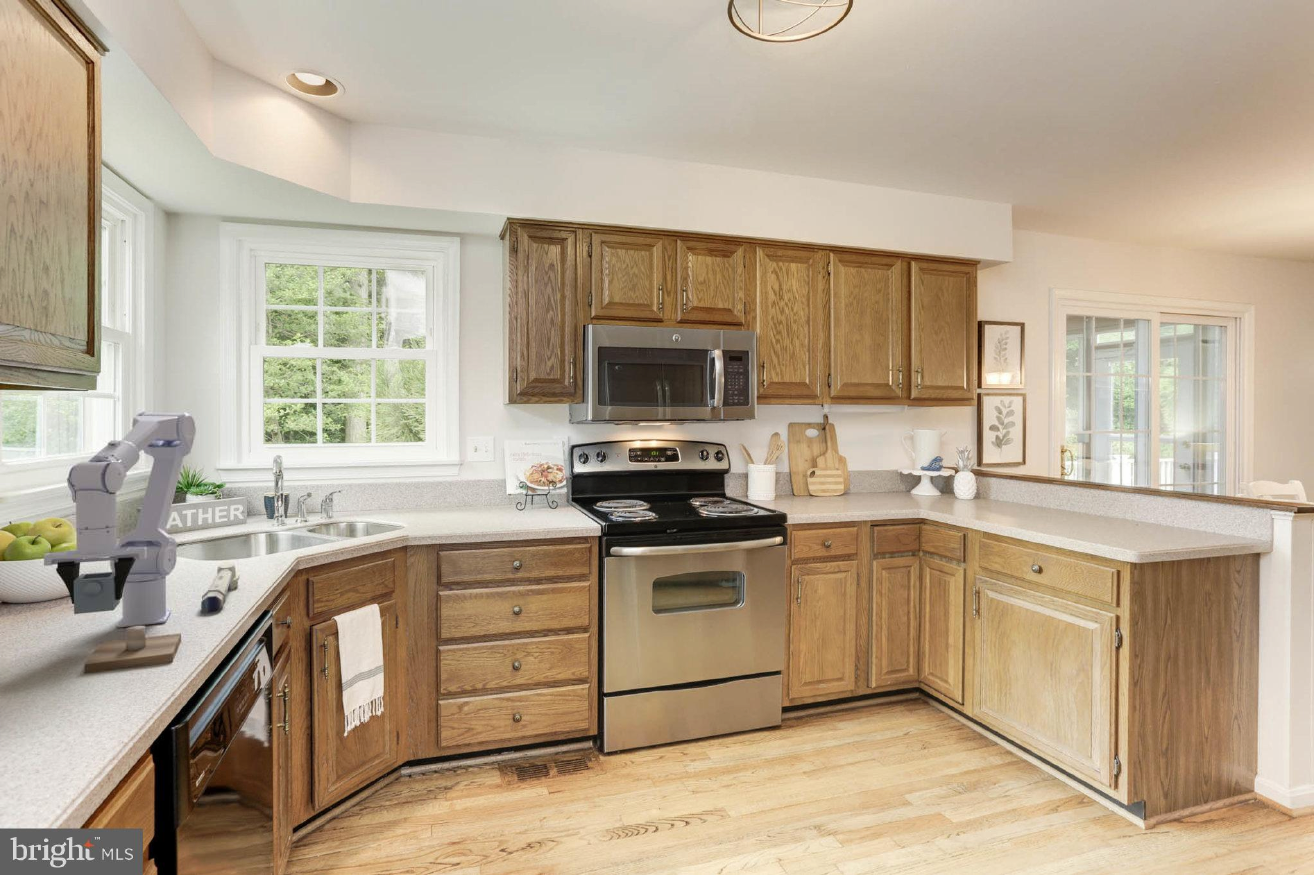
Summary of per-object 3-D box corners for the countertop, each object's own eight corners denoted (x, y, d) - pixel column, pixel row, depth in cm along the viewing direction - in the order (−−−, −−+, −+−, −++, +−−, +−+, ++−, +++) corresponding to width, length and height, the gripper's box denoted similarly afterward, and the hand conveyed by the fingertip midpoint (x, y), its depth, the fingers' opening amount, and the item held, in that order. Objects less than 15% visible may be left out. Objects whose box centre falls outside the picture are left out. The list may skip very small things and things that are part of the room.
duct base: (100, 650, 124) (100, 623, 124) (181, 641, 130) (180, 614, 130) (84, 673, 114) (84, 643, 113) (172, 661, 119) (172, 633, 119)
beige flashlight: (196, 596, 147) (215, 557, 169) (197, 626, 148) (216, 583, 170) (225, 594, 149) (240, 556, 172) (226, 623, 150) (240, 581, 173)
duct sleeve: (81, 606, 128) (81, 574, 127) (119, 602, 130) (119, 571, 130) (71, 617, 121) (70, 583, 121) (111, 613, 124) (111, 580, 123)
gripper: (38, 533, 119) (39, 611, 119) (142, 527, 126) (142, 601, 126) (49, 526, 125) (50, 600, 126) (148, 522, 132) (148, 592, 133)
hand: (97, 600), depth 126 cm, fingers closed on duct sleeve, 6 cm apart
